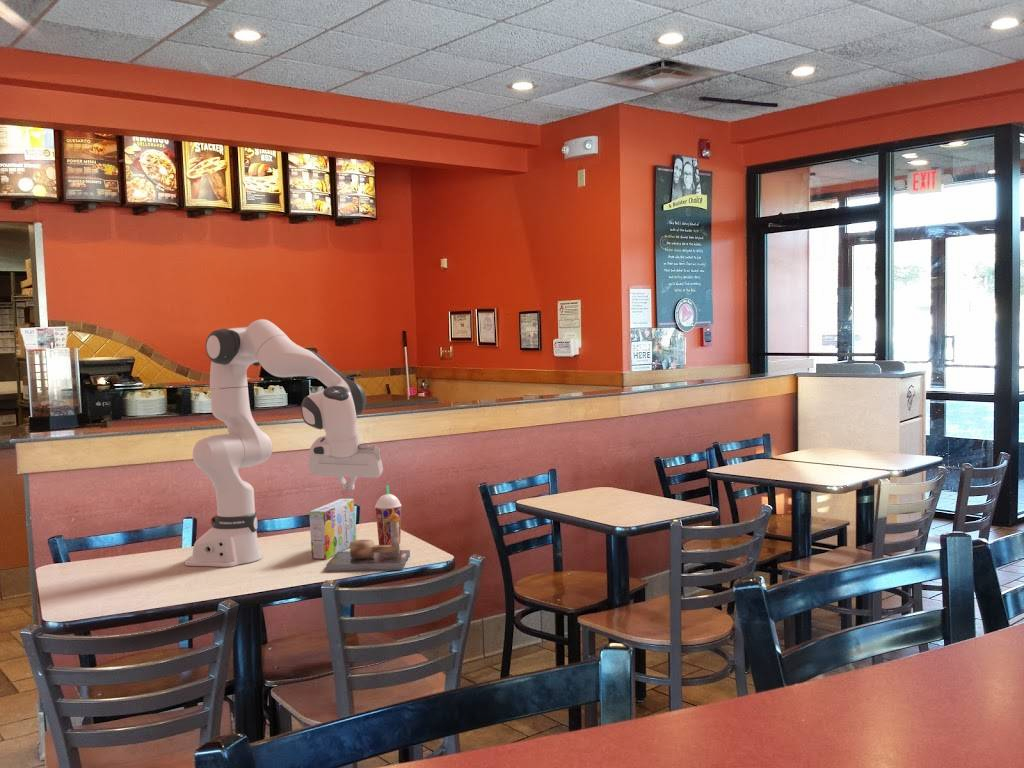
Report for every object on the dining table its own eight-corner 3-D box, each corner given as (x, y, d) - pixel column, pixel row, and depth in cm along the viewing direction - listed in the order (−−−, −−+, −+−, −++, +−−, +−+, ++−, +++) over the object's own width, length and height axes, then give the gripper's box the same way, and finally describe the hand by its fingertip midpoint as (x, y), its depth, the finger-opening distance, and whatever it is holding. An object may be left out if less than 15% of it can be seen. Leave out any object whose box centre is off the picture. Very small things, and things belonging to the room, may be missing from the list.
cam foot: (347, 558, 264) (346, 516, 264) (353, 552, 271) (352, 511, 271) (398, 558, 263) (396, 515, 263) (402, 552, 270) (401, 511, 270)
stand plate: (326, 571, 260) (326, 563, 260) (338, 558, 276) (337, 550, 276) (402, 569, 259) (402, 562, 259) (409, 556, 275) (409, 548, 275)
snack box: (341, 543, 296) (339, 498, 295) (357, 544, 294) (355, 498, 294) (310, 559, 275) (308, 510, 275) (327, 560, 274) (325, 510, 273)
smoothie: (398, 551, 283) (396, 487, 282) (373, 550, 284) (370, 487, 283) (406, 545, 291) (404, 483, 290) (381, 544, 292) (379, 483, 291)
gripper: (383, 440, 248) (388, 484, 253) (312, 438, 251) (318, 481, 256) (376, 451, 242) (381, 496, 247) (304, 448, 245) (310, 492, 251)
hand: (349, 488), depth 252 cm, fingers closed
